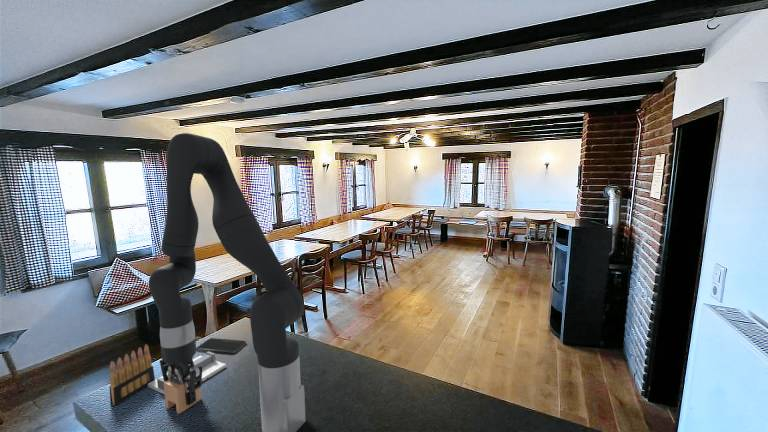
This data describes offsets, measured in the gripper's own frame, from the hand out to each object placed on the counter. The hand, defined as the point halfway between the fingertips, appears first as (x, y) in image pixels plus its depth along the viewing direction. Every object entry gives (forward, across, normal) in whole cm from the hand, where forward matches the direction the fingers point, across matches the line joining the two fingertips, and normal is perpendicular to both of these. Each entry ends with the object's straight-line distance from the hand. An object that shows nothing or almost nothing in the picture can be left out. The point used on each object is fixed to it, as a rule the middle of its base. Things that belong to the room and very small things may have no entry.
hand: (183, 399), depth 84 cm
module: (+1, 0, 0) cm, 1 cm away
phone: (+2, +16, -24) cm, 29 cm away
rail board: (+1, +10, -8) cm, 13 cm away
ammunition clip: (+1, +17, +3) cm, 17 cm away
